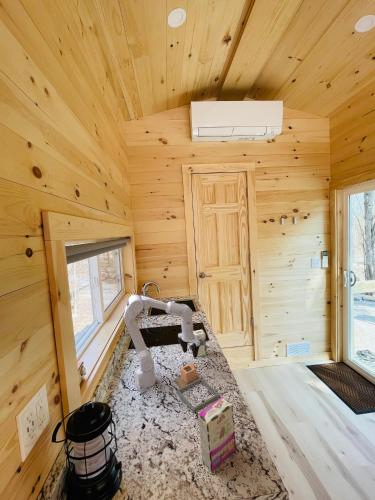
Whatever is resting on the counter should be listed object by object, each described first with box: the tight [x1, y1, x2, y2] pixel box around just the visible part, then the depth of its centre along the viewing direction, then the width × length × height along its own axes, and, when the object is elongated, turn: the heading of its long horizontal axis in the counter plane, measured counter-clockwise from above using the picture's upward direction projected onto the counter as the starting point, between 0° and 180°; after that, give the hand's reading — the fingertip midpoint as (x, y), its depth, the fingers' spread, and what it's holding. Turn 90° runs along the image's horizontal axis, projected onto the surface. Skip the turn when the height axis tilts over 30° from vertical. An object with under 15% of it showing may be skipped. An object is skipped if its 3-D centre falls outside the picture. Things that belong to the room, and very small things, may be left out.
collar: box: [179, 363, 198, 383], centre depth 113 cm, size 7×6×5 cm
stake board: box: [172, 368, 199, 389], centre depth 112 cm, size 10×7×6 cm
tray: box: [175, 377, 221, 413], centre depth 101 cm, size 14×14×2 cm
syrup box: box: [193, 329, 208, 358], centre depth 133 cm, size 6×6×14 cm
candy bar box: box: [197, 396, 237, 472], centre depth 74 cm, size 11×5×16 cm, turn 126°
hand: (190, 354), depth 118 cm, fingers open, 7 cm apart
